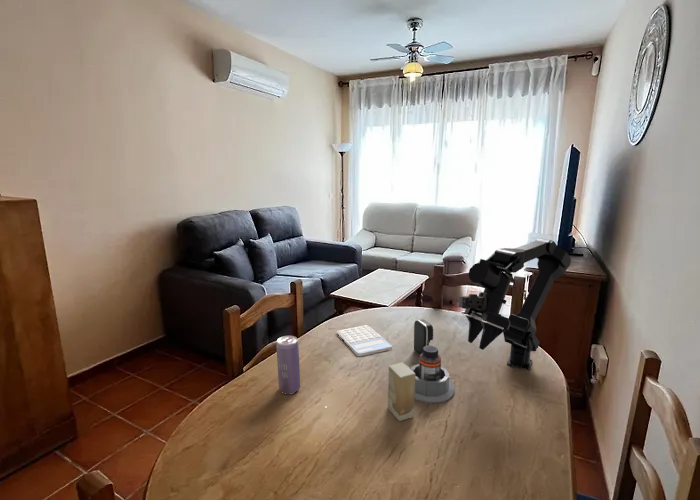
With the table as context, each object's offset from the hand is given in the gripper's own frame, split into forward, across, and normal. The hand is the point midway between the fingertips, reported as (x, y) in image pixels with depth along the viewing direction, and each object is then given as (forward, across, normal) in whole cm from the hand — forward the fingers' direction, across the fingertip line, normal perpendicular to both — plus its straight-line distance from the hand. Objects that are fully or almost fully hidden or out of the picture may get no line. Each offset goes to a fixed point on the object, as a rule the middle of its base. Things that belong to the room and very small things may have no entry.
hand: (475, 345), depth 107 cm
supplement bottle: (+15, -3, -7) cm, 17 cm away
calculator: (+16, -32, -25) cm, 44 cm away
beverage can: (+31, -4, -43) cm, 53 cm away
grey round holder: (+16, -3, -7) cm, 18 cm away
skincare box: (+22, +7, -15) cm, 28 cm away
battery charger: (+10, -22, -7) cm, 25 cm away
